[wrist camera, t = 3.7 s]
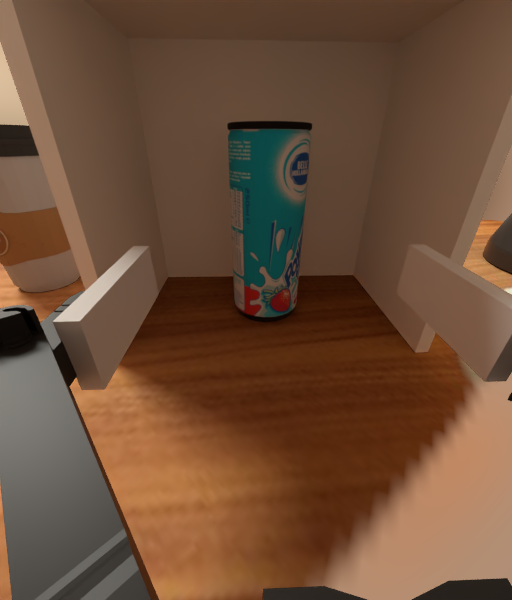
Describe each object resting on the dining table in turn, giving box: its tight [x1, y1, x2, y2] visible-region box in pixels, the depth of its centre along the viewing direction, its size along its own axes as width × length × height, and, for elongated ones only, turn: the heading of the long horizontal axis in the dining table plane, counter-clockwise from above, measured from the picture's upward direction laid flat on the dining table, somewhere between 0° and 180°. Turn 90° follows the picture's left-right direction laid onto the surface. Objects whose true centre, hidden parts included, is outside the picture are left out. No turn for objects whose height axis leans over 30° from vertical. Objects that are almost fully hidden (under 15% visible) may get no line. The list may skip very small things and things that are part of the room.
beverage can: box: [227, 121, 312, 321], centre depth 23 cm, size 6×6×15 cm
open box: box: [0, 0, 512, 352], centre depth 22 cm, size 24×15×22 cm, turn 92°
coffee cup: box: [0, 125, 80, 292], centre depth 28 cm, size 8×8×15 cm
